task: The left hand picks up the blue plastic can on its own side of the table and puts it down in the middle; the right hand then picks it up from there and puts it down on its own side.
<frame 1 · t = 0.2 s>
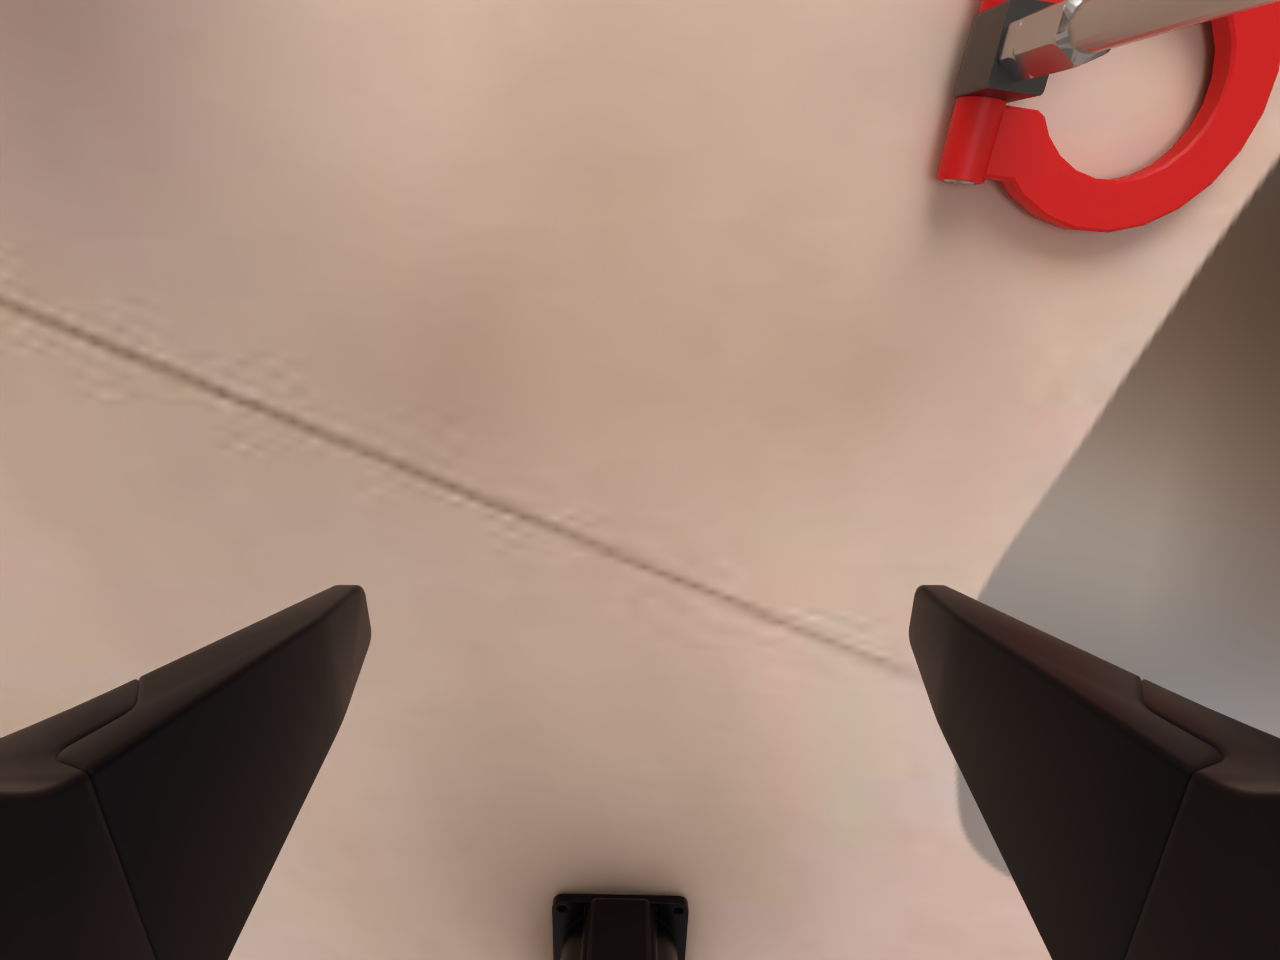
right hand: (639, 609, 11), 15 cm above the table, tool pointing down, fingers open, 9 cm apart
tow hook: (1099, 81, 22), on the table
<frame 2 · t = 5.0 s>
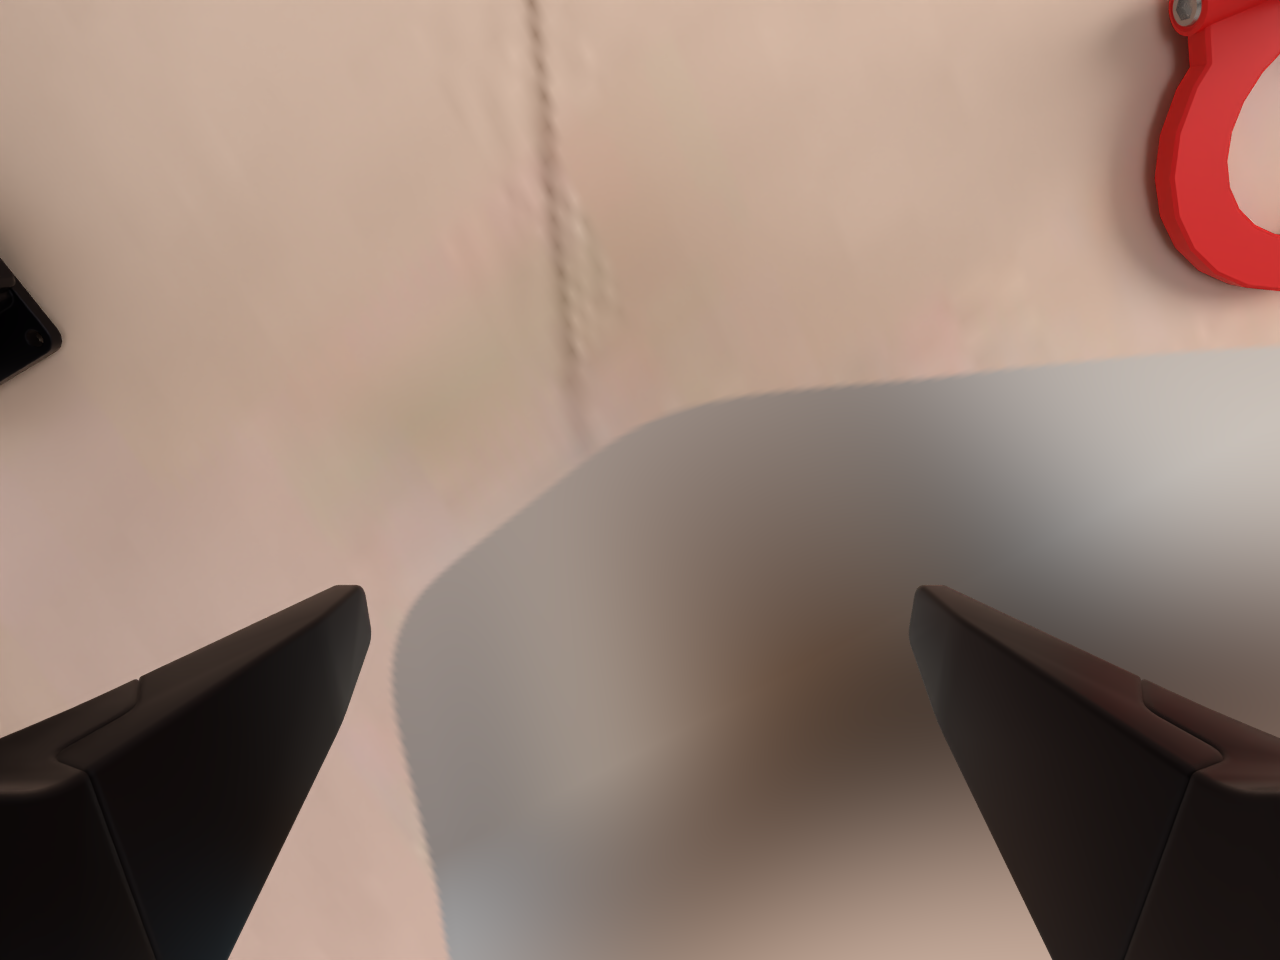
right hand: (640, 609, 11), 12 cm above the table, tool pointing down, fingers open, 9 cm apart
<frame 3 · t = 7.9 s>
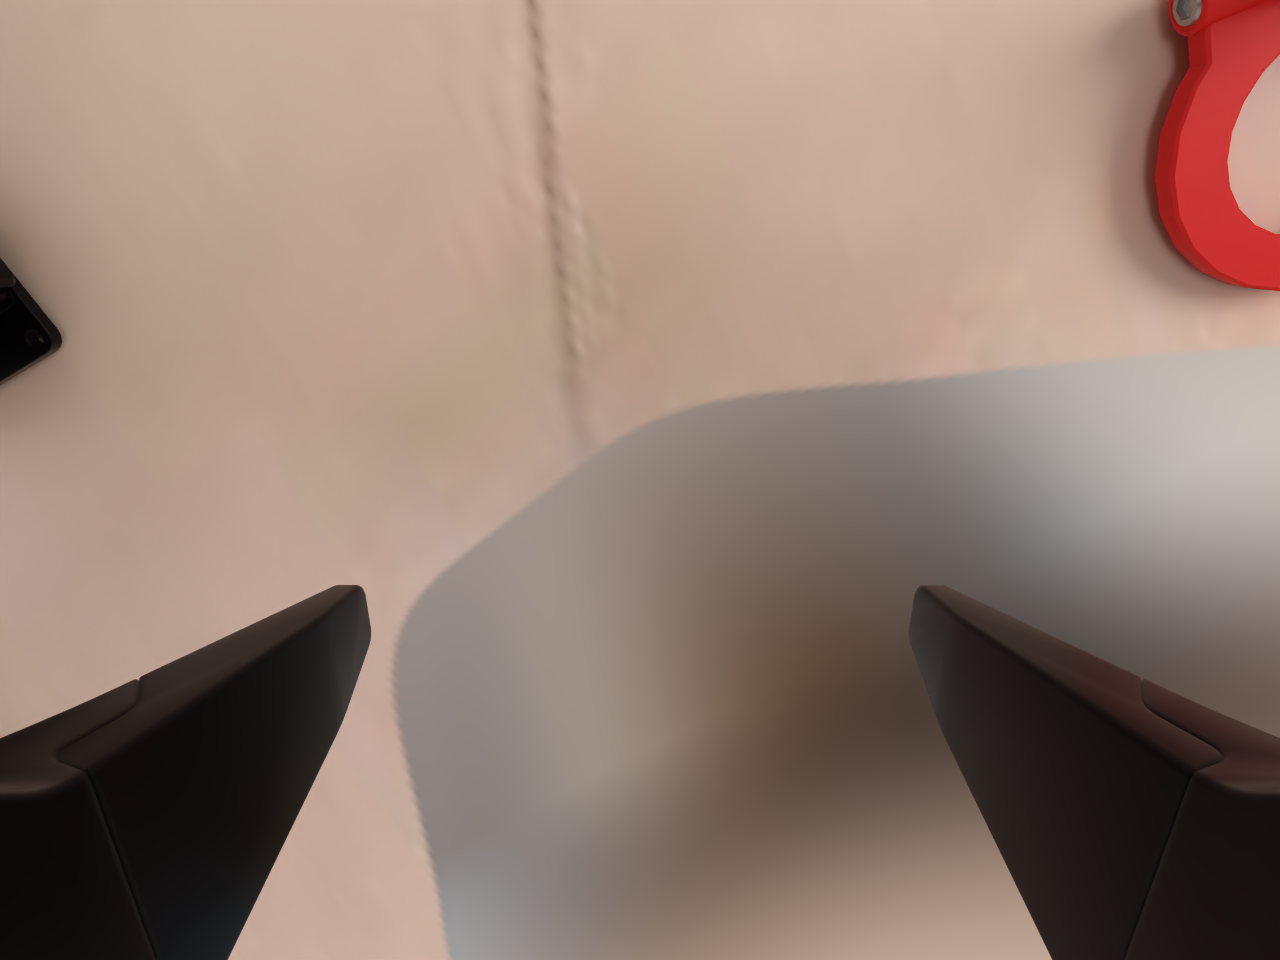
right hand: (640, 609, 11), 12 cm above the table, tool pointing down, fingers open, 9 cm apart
when the left hand's fingers open (1 cm above the table, at t = 11.2 s): can drops 1 cm, on the table.
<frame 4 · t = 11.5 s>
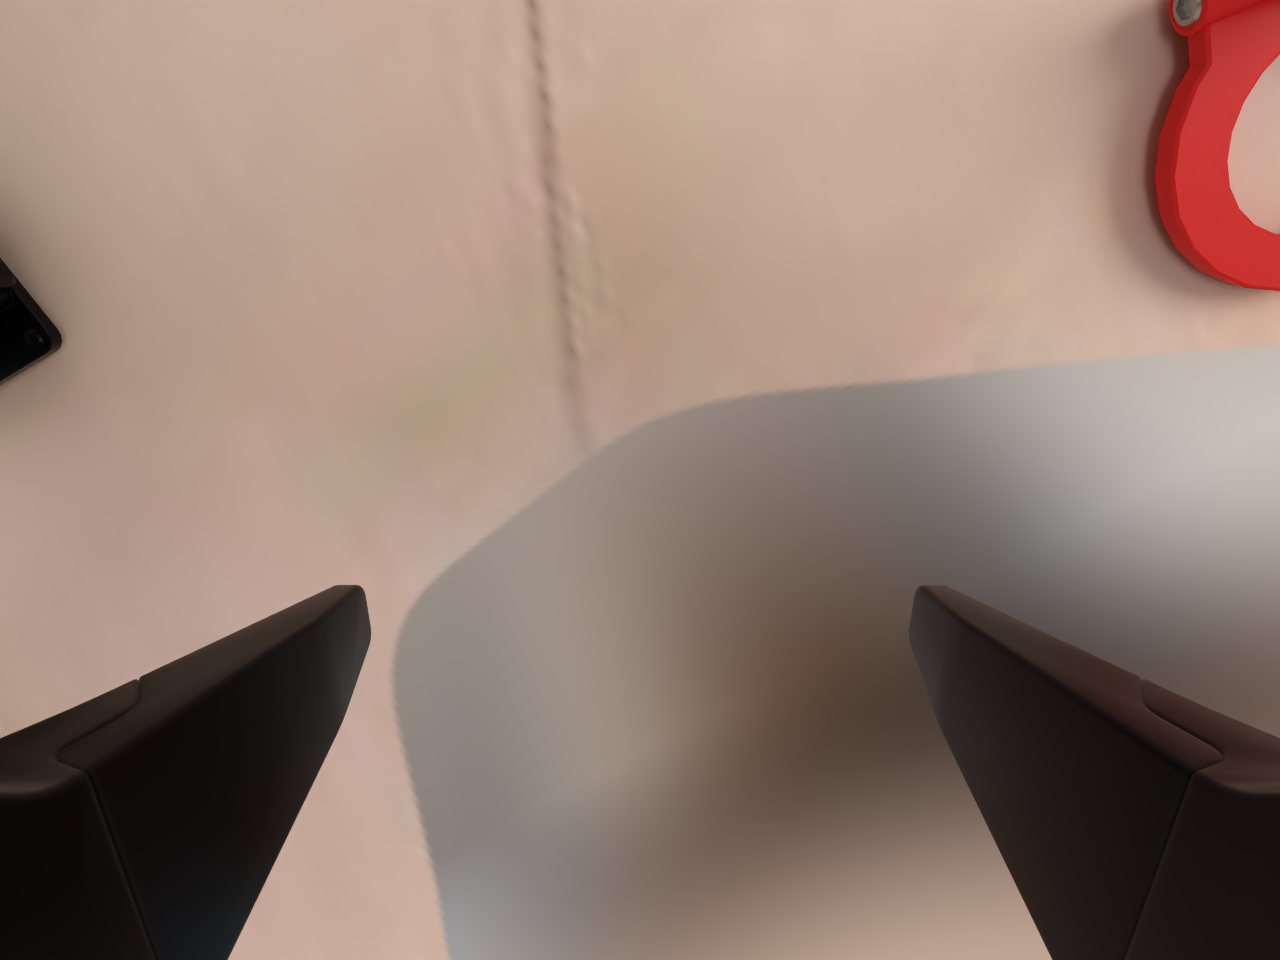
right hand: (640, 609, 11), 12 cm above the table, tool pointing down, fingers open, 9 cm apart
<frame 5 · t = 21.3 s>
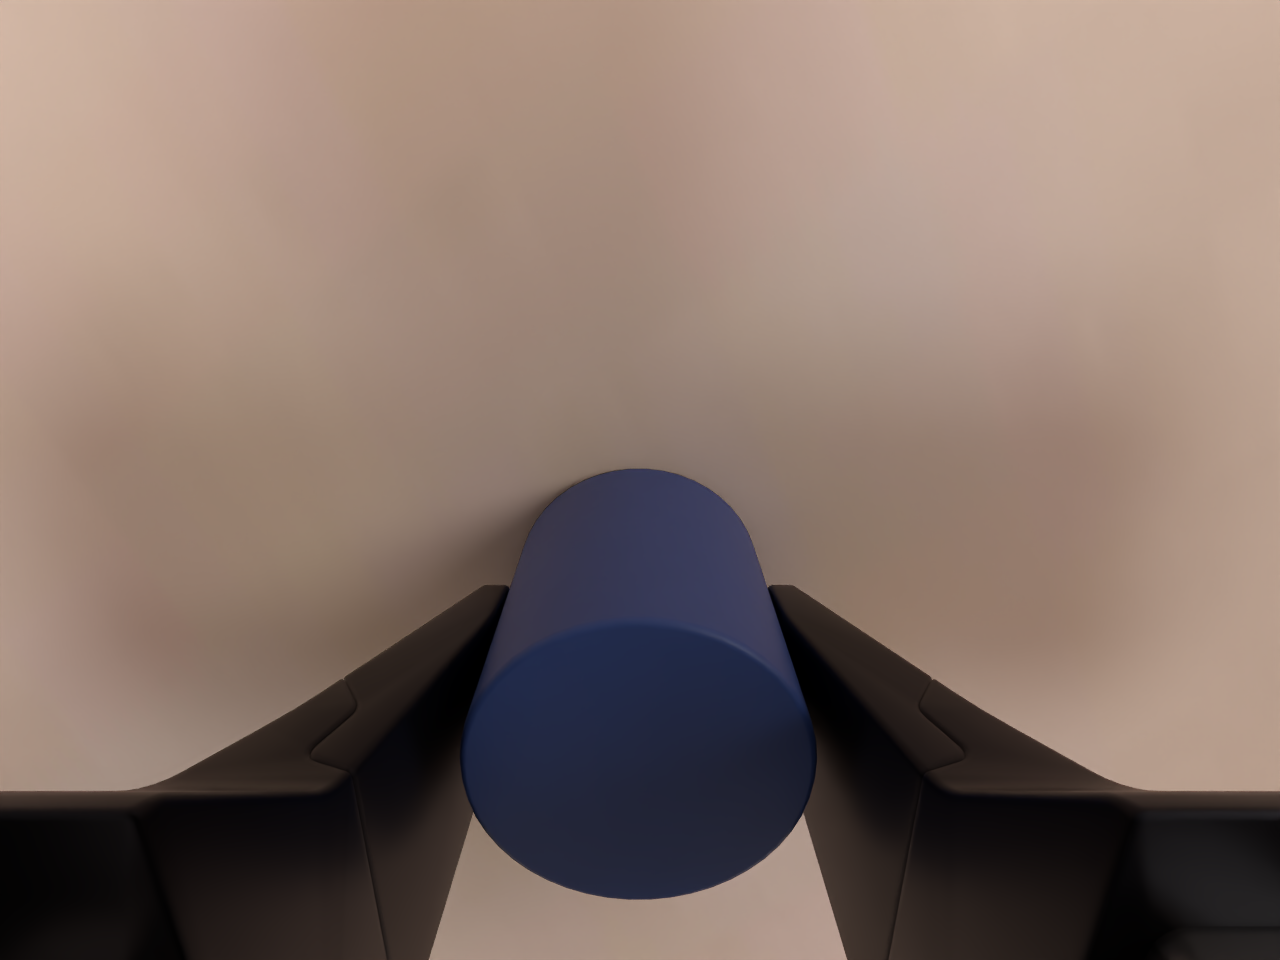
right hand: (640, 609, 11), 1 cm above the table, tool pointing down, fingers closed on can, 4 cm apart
can: (638, 577, 12), on the table, touching right hand
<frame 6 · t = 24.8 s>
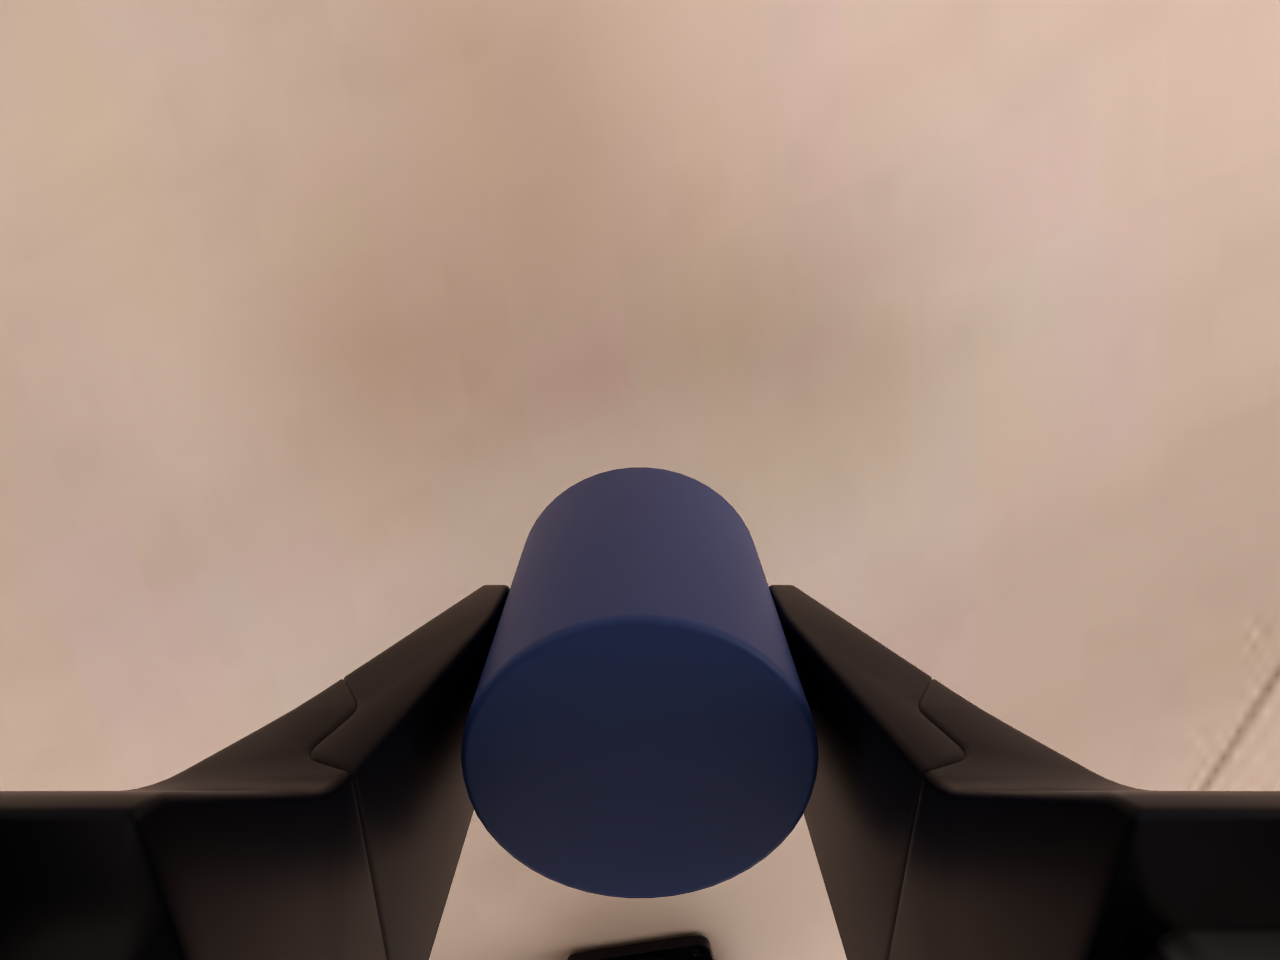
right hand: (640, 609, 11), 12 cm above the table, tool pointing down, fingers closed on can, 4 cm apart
can: (639, 575, 12), point 11 cm above the table, touching right hand
when the right hand's fingers open (2 cm above the table, at t = 28.8 s): can drops 1 cm, on the table.
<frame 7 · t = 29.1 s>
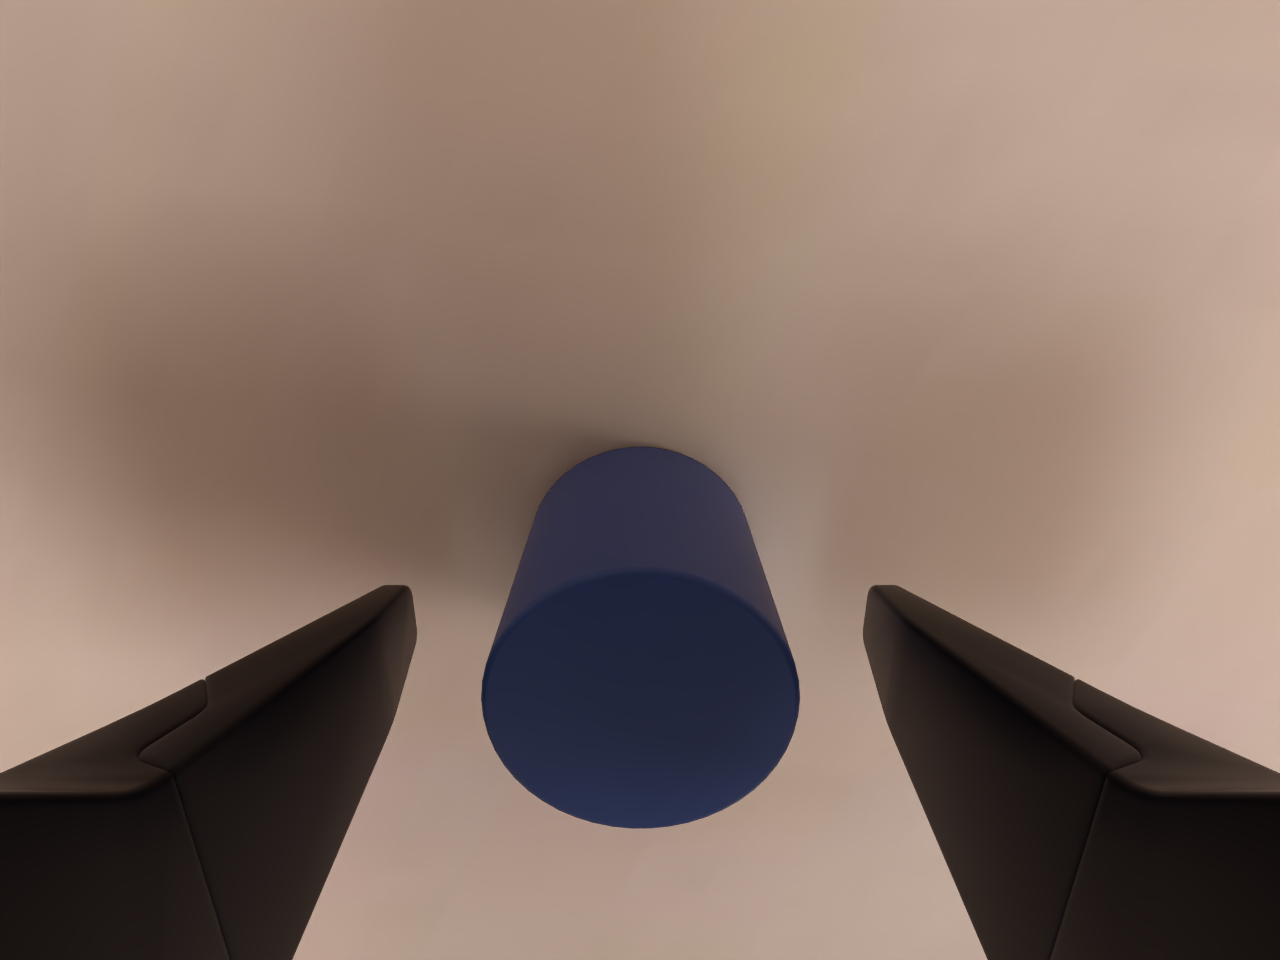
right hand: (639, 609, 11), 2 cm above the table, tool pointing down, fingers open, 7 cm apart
can: (640, 548, 13), on the table
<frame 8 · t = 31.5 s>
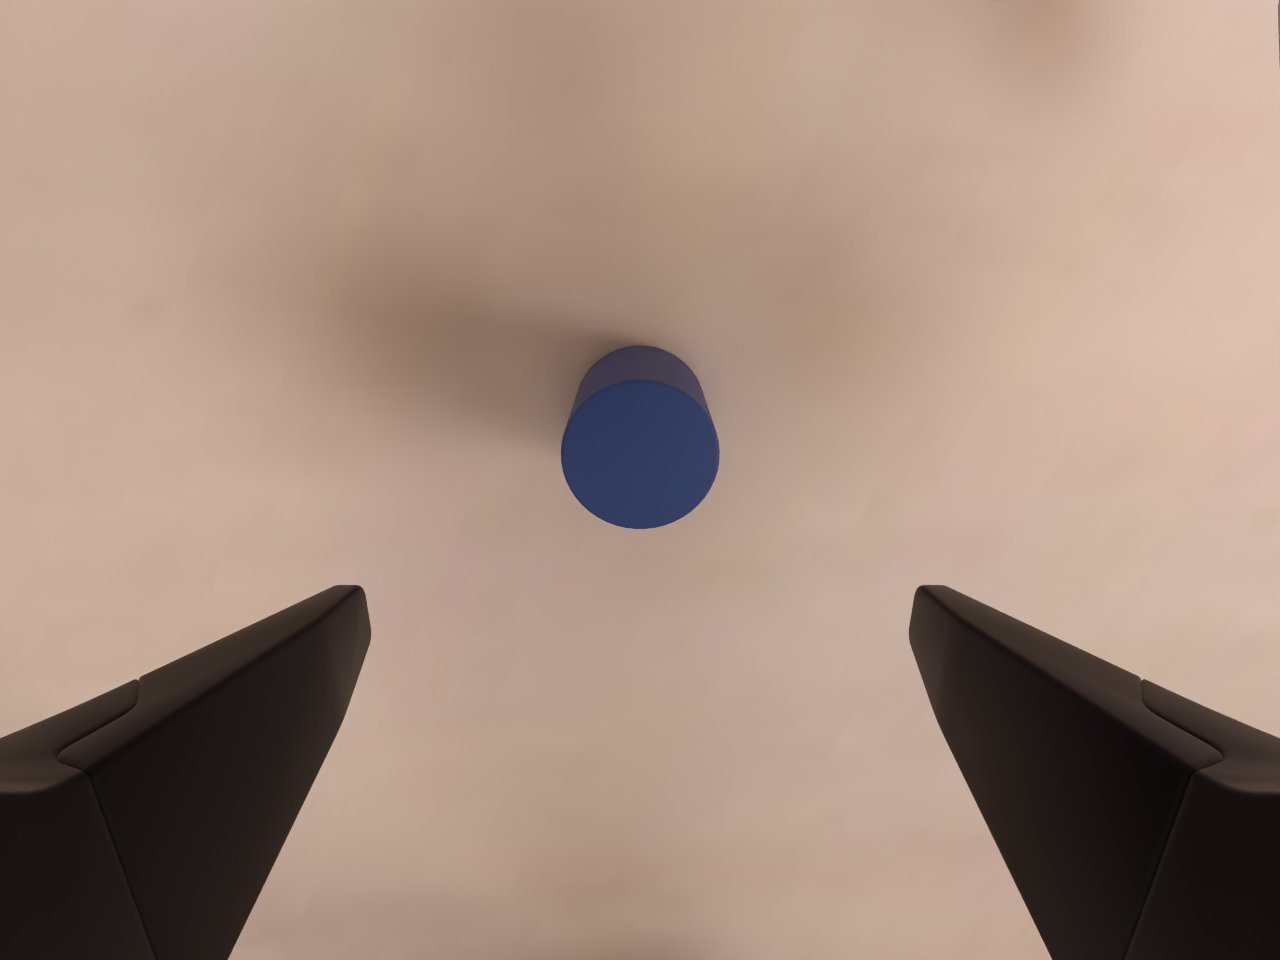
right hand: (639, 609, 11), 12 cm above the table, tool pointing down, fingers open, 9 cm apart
can: (640, 410, 23), on the table
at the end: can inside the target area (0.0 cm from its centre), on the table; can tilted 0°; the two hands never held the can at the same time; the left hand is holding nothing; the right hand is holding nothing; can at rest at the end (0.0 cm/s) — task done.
